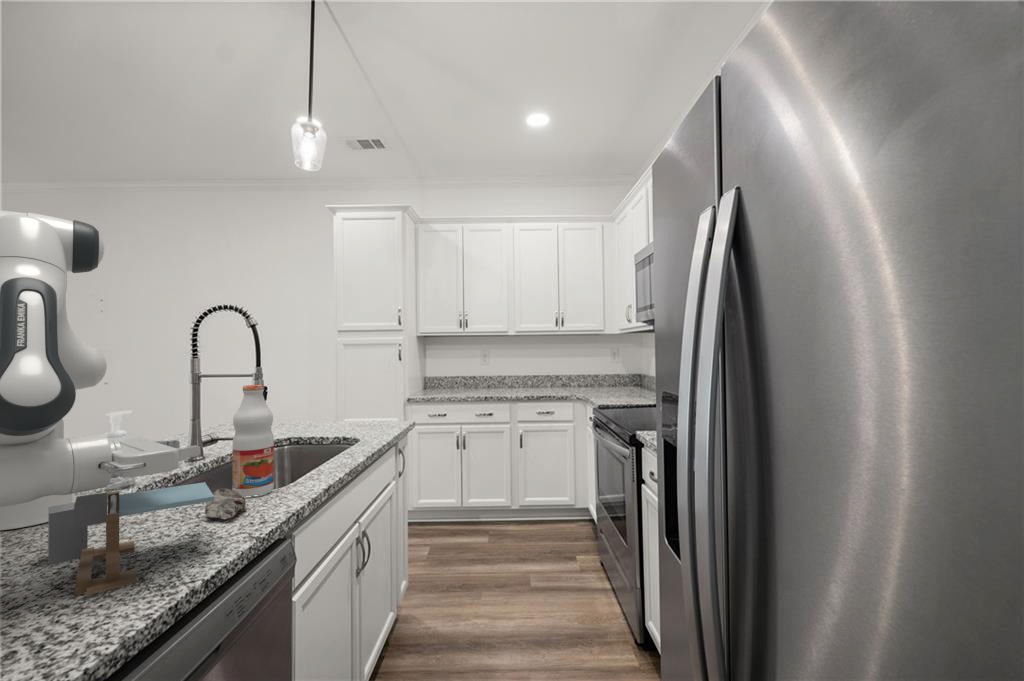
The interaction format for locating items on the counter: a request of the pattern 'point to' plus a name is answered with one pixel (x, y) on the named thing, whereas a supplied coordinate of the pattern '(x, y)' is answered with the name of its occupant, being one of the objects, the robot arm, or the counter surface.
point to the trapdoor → (138, 502)
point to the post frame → (112, 559)
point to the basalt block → (64, 535)
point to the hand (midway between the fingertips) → (188, 447)
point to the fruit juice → (253, 445)
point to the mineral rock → (225, 504)
